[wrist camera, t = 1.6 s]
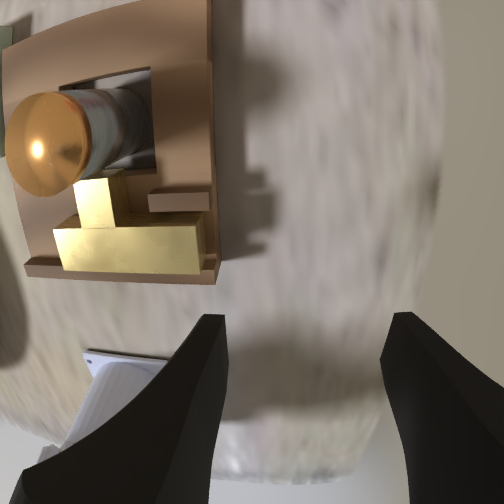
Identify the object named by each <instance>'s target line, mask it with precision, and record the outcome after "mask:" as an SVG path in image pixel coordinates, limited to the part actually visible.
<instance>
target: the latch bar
mask: <svg viewBox="0 0 504 504" xmlns="http://www.w3.org/2000/svg"><path fill="white" fill-rule="evenodd" d="M74 191H75V196H76V202H77V207H78V212H79V215H71V216H70V217H68V218H67V219H66V220H64V221H63V222H62V223H61V224H59V225H58V226H57V227H55V228H54V229H53V232H54V236H55V240H56V243H57V247H58V251H59V254H60V258H61V261H62V265H63V268H64V270H65V271H89V272H117V273H150V274H193V275H200V273H201V271H202V268H203V265H204V262H205V259H206V256H207V251H206V239H205V227H204V214H203V211H174V212H138V213H131V212H130V206H129V199H128V192H127V184H126V176H125V168H119V169H109V170H99V171H97V172H95V173H93V174H92V175H90V176H88V177H86V178H84V179H83V180H81V181H79V182H77V183H75V184H74Z"/></svg>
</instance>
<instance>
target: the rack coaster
mask: <svg viewBox="0 0 504 504" xmlns="http://www.w3.org/2000/svg"><path fill="white" fill-rule="evenodd" d="M12 36H13V27H8V26H0V158H1V157H4V156H6V155H5V125H4V113H3V97H2V50H4V49H6V48H8V47H10V46H12Z"/></svg>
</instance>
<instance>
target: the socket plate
mask: <svg viewBox="0 0 504 504" xmlns="http://www.w3.org/2000/svg"><path fill="white" fill-rule="evenodd" d="M145 70H151V97H152V115H153V131H154V144H155V156H156V168H150V169H137V170H125V176H126V184H127V192H128V199H129V206H130V212H131V213H138V212H174V211H203V214H204V227H205V239H206V251H207V256H206V259H205V262H204V265H203V268H202V271H201V273H200V275H193V274H150V273H117V272H89V271H65V270H64V268H63V265H62V261H61V258H60V254H59V251H58V247H57V243H56V240H55V236H54V232H53V229H54V228H55V227H57V226H58V225H59V224H61V223H62V222H63V221H64V220H66V219H67V218H68V217H70V216H71V215H79V212H78V207H77V202H76V196H75V191H74V185H72V186H70V187H68V188H67V189H65V190H63V191H62V192H60V193H58V194H56V195H54V196H51V197H37V196H34V195H32V194H30V193H28V192H27V191H25V190H24V189H23V188H22V187H21V186H20V185H19V184H18V183H17V182H16V180H15V179H14V177H13V176H12V174H11V176H12V181H13V186H14V191H15V196H16V201H17V205H18V210H19V214H20V218H21V222H22V226H23V230H24V233H25V237H26V240H27V244H28V247H29V251H30V254H31V257H32V258H31V259H29V260H28V261H27V262H26V263H25V264H24V267H25V270H26V273H27V276H28V277H41V278H57V279H73V280H92V281H112V282H136V283H163V284H199V285H215V284H216V280H217V276H218V272H219V268H220V264H221V252H220V236H219V220H218V202H217V182H216V161H215V137H214V108H213V71H212V0H141V1H136V2H132V3H128V4H124V5H120V6H116V7H112V8H108V9H105V10H101V11H98V12H95V13H91V14H88V15H85V16H82V17H79V18H76V19H73V20H71V21H68V22H65V23H62V24H60V25H57V26H54V27H52V28H49V29H47V30H45V31H42V32H40V33H37V34H35V35H33V36H31V37H28V38H26V39H24V40H22V41H20V42H18V43H16V44H14V45H12V46H10V47H8V48H6V49H4V50H2V97H3V113H4V125H5V134H6V129H7V125H8V122H9V120H10V117H11V115H12V113H13V112H14V110H15V109H16V107H17V106H18V105H19V104H20V103H21V102H22V101H23V100H24V99H26V98H27V97H29V96H31V95H33V94H36V93H42V92H53V91H66V90H73V86H74V85H78V84H82V83H86V82H90V81H94V80H98V79H103V78H107V77H112V76H117V75H122V74H127V73H133V72H139V71H145Z"/></svg>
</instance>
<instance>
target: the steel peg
mask: <svg viewBox="0 0 504 504" xmlns="http://www.w3.org/2000/svg"><path fill="white" fill-rule="evenodd" d="M148 129H149V114H148V110H147V108H146V105H145V104H144V102H143V100H142V99H141V98H140V97H139V96H138V95H137V94H135V93H134V92H132V91H130V90H127V89H82V90H66V91H53V92H42V93H36V94H33V95H31V96H29V97H27V98H26V99H24V100H23V101H22V102H21V103H20V104H19V105H18V106H17V107H16V109H15V110H14V112H13V113H12V115H11V117H10V120H9V122H8V125H7V129H6V134H5V155H6V160H7V164H8V167H9V169H10V172H11V174H12V176H13V177H14V179H15V180H16V182H17V183H18V184H19V185H20V186H21V187H22V188H23V189H24V190H25V191H27V192H28V193H30V194H32V195H34V196H37V197H51V196H54V195H56V194H58V193H60V192H62V191H63V190H65V189H67V188H68V187H70V186H72V185H74V184H75V183H77V182H79V181H81V180H83V179H84V178H86V177H88V176H90V175H92V174H93V173H95V172H97V171H99V170H101V169H103V168H105V167H107V166H109V165H111V164H112V163H114V162H116V161H118V160H120V159H122V158H124V157H126V156H128V155H130V154H132V153H134V152H135V151H136V150H137V149H138V148H139V147H140V146H141V145H142V144H143V142H144V140H145V138H146V136H147V133H148Z"/></svg>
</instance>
